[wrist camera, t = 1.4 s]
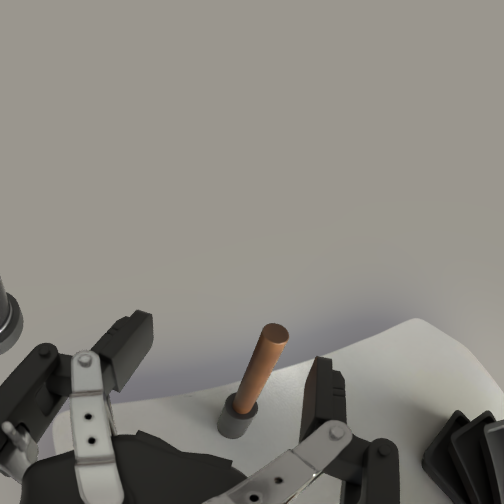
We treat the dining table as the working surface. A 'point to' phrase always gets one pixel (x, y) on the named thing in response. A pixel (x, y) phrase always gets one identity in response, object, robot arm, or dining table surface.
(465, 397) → the dining table surface
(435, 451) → the tray
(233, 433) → the brush
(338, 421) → the robot arm
